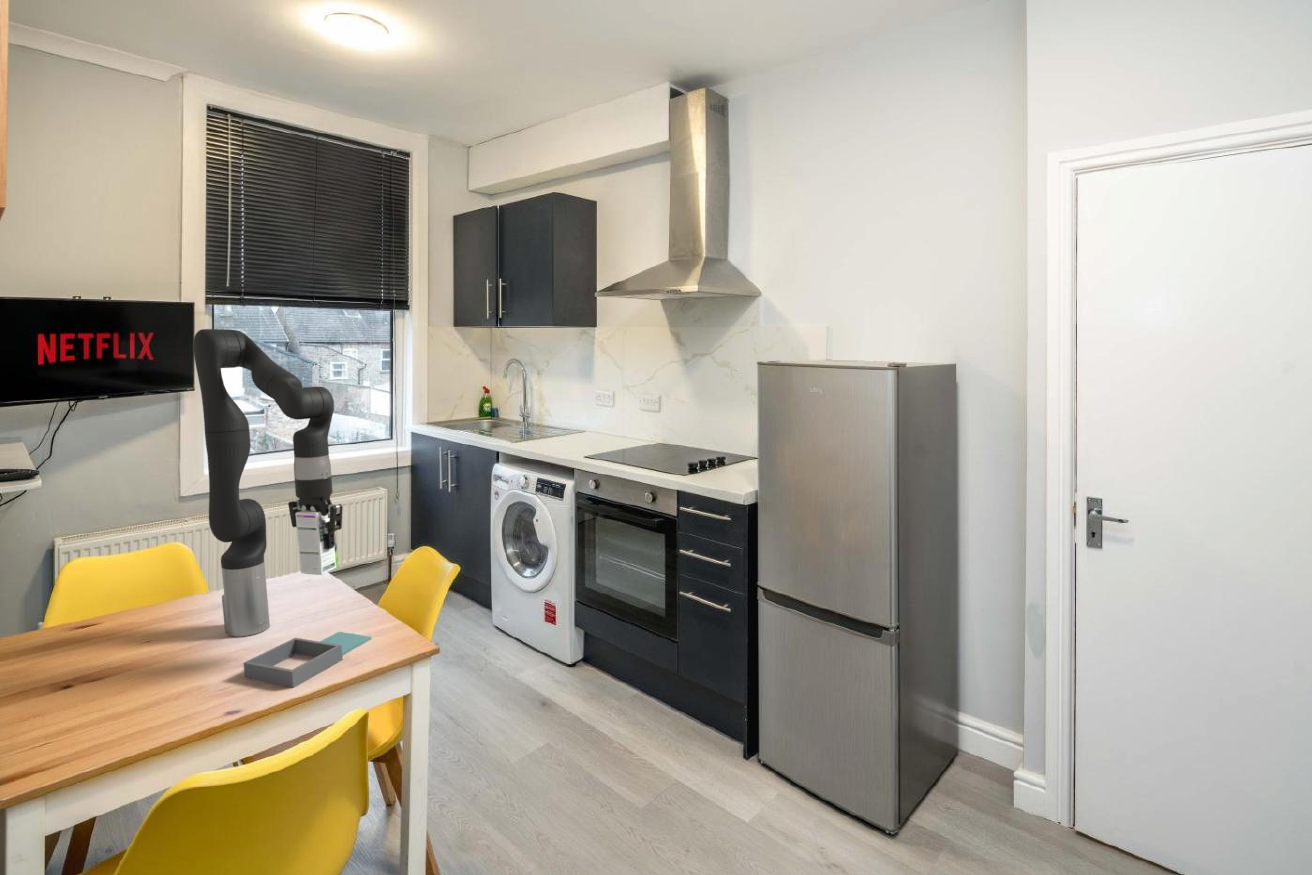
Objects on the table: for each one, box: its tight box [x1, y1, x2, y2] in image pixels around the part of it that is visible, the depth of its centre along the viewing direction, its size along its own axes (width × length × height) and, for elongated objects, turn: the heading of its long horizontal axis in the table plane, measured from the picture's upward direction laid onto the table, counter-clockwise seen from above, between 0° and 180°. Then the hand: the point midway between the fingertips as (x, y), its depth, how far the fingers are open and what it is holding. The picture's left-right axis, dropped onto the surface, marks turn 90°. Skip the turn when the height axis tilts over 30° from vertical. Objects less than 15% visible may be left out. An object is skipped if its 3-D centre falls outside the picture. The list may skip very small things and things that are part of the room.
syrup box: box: [296, 510, 339, 576], centre depth 157 cm, size 6×6×14 cm
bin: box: [243, 637, 343, 688], centre depth 152 cm, size 14×14×4 cm
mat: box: [319, 631, 372, 656], centre depth 164 cm, size 10×10×1 cm
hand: (318, 546), depth 157 cm, fingers closed on syrup box, 6 cm apart
